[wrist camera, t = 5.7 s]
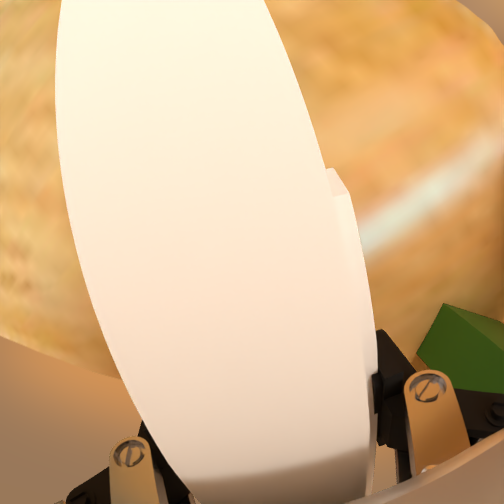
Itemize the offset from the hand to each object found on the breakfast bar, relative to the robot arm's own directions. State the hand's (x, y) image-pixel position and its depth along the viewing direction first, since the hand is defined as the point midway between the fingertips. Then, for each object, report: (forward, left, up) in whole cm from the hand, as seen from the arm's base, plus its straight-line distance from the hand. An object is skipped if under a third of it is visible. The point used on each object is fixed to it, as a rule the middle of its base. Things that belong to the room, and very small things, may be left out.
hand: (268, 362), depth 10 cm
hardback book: (-27, +22, -17) cm, 39 cm away
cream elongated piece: (0, +1, -4) cm, 4 cm away
